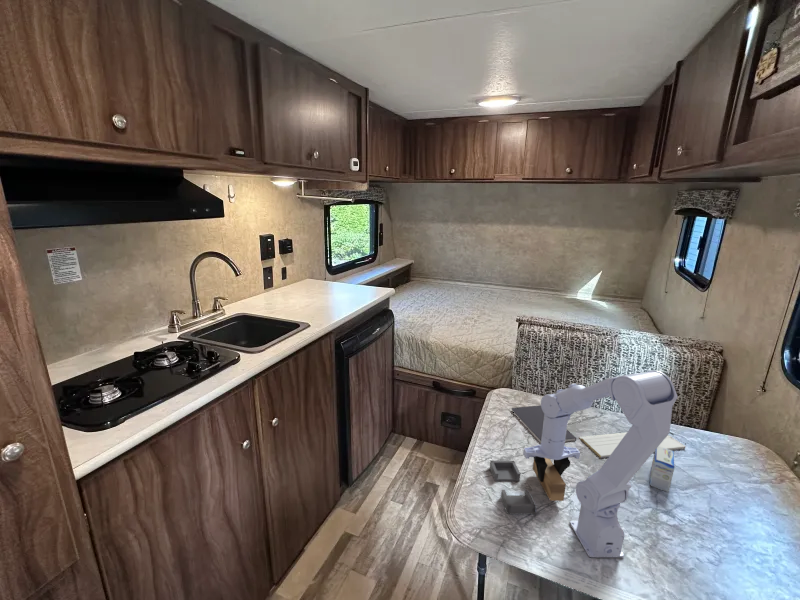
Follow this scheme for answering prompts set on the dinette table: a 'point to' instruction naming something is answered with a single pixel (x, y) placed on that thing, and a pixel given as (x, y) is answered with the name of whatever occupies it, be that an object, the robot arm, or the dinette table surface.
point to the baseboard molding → (609, 442)
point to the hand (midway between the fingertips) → (547, 479)
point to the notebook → (535, 421)
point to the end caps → (512, 502)
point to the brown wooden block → (552, 482)
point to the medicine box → (662, 469)
